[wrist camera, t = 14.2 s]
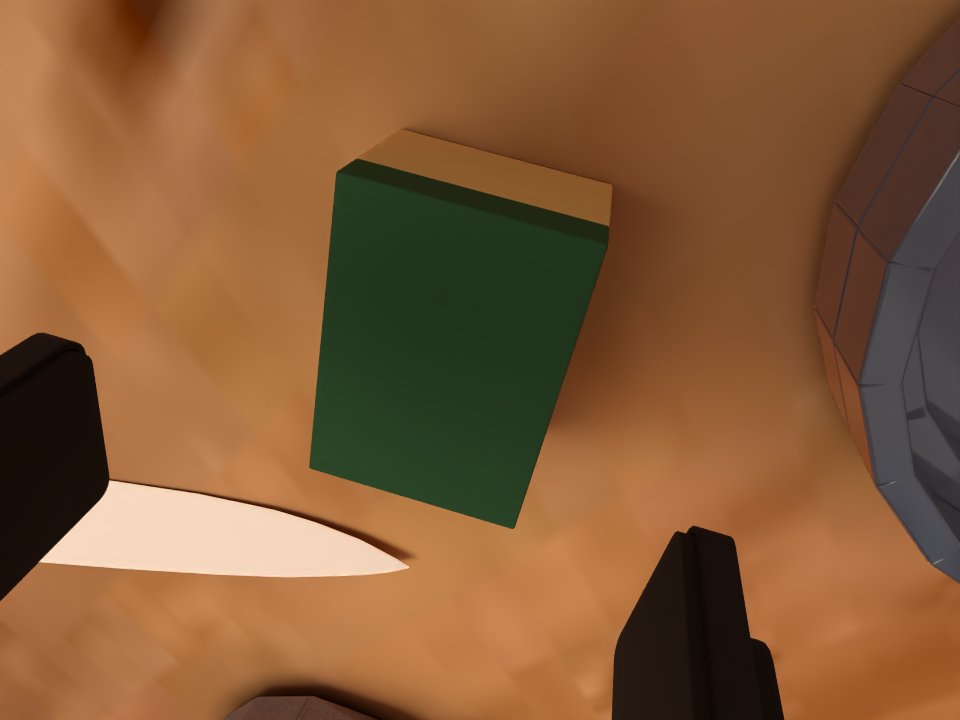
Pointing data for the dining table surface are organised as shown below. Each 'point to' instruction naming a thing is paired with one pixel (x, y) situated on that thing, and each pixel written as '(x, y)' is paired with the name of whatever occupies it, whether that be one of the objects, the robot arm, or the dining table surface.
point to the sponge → (451, 319)
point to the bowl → (903, 303)
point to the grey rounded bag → (294, 710)
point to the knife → (210, 538)
